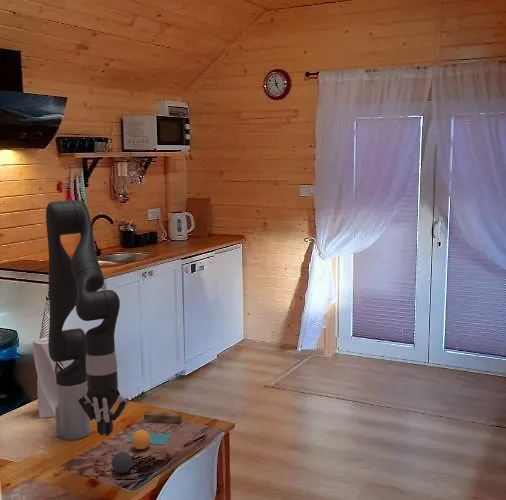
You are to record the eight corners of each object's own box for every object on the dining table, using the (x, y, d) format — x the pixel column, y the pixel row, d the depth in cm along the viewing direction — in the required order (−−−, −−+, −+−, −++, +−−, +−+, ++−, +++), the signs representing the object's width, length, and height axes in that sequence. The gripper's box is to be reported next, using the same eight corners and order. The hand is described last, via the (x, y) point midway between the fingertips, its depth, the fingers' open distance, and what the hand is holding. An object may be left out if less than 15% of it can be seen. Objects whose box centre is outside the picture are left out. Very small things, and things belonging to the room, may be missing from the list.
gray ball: (108, 476, 171) (107, 456, 171) (117, 466, 177) (116, 447, 176) (128, 477, 170) (127, 458, 169) (135, 467, 176) (134, 449, 175)
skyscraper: (64, 409, 218) (58, 329, 214) (60, 418, 210) (54, 336, 206) (38, 411, 217) (32, 331, 213) (34, 420, 209) (27, 338, 205)
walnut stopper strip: (144, 421, 206) (144, 414, 205) (146, 419, 208) (146, 411, 207) (179, 424, 203) (179, 416, 203) (181, 421, 205) (181, 414, 205)
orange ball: (129, 452, 185) (128, 434, 184) (136, 443, 190) (135, 426, 189) (146, 453, 184) (146, 435, 183) (153, 444, 189) (152, 427, 188)
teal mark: (126, 442, 191) (126, 441, 191) (134, 432, 198) (134, 431, 198) (164, 445, 189) (164, 444, 189) (171, 435, 195) (171, 434, 195)
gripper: (69, 372, 158) (74, 439, 160) (120, 375, 155) (124, 442, 158) (83, 363, 165) (87, 426, 167) (132, 365, 162) (135, 429, 165)
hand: (105, 434), depth 162 cm, fingers closed
